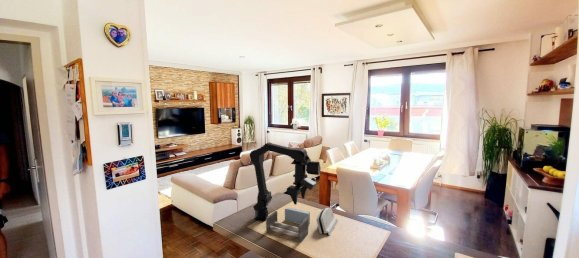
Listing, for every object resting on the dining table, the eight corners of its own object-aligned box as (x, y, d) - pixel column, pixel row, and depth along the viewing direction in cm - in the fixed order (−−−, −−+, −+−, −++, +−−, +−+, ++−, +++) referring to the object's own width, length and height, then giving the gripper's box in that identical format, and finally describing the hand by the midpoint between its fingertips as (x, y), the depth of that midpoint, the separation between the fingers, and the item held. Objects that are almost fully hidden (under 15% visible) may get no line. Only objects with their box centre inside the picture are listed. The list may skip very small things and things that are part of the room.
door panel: (284, 220, 135) (284, 208, 134) (286, 218, 137) (286, 206, 136) (308, 226, 129) (308, 213, 128) (309, 224, 131) (309, 212, 130)
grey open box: (266, 232, 122) (266, 217, 121) (275, 225, 130) (275, 210, 129) (300, 242, 113) (300, 226, 112) (308, 233, 121) (308, 218, 120)
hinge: (329, 236, 119) (323, 216, 119) (320, 237, 121) (314, 217, 121) (338, 221, 134) (332, 203, 134) (330, 222, 136) (324, 205, 136)
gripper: (306, 180, 115) (305, 211, 117) (321, 170, 132) (320, 198, 133) (286, 176, 121) (285, 206, 122) (302, 167, 137) (301, 194, 139)
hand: (299, 201), depth 129 cm, fingers open, 9 cm apart
